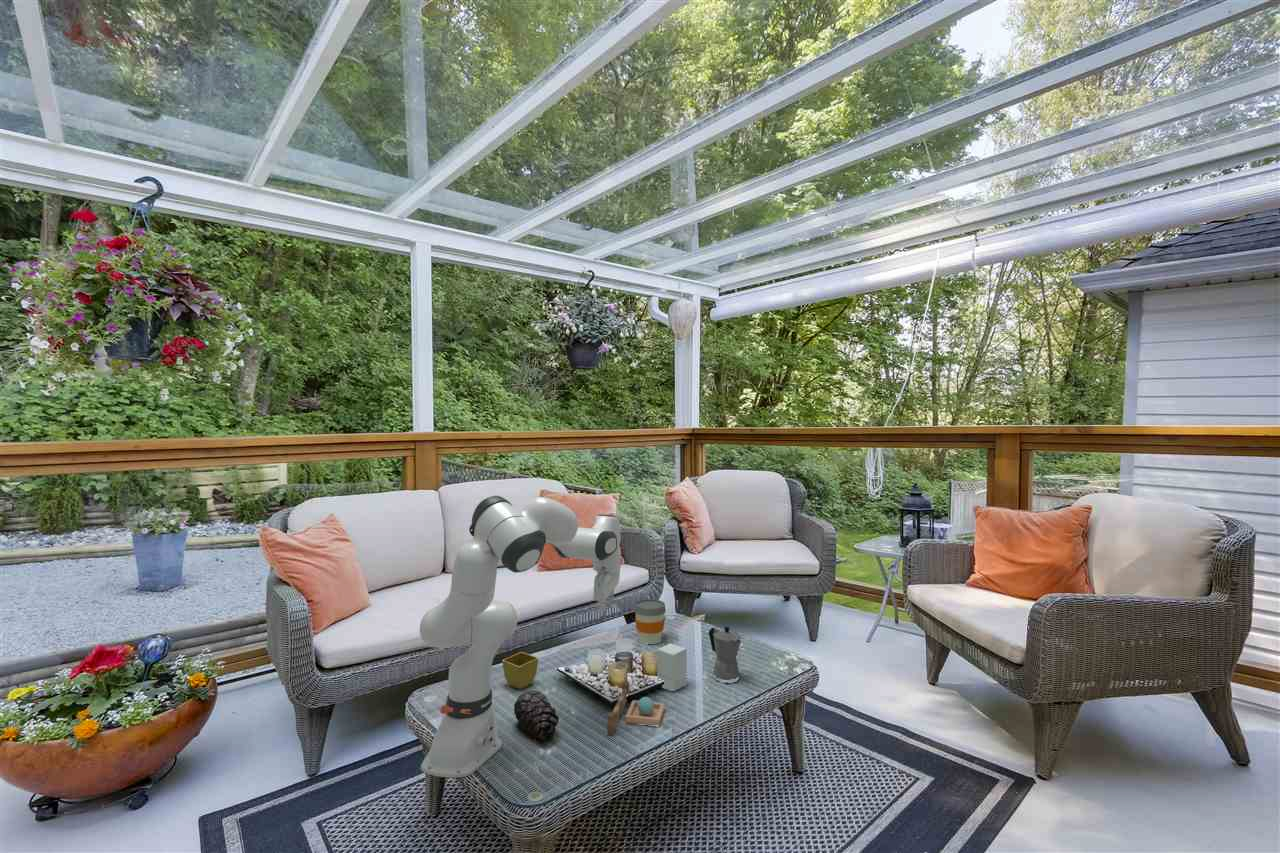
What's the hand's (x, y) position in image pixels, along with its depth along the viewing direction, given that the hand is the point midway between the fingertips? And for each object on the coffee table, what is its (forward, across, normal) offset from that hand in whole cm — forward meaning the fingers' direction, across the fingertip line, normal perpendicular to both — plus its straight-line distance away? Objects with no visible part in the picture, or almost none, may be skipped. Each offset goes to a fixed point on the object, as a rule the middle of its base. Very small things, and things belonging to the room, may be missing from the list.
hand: (606, 606), depth 192 cm
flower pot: (+29, +1, +30) cm, 42 cm away
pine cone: (+29, -24, +14) cm, 41 cm away
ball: (+28, -11, -15) cm, 34 cm away
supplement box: (+29, +11, -20) cm, 37 cm away
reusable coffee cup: (+29, +48, -6) cm, 57 cm away
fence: (+29, -12, -7) cm, 32 cm away
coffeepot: (+29, +21, -37) cm, 52 cm away
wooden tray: (+29, -11, -15) cm, 35 cm away
